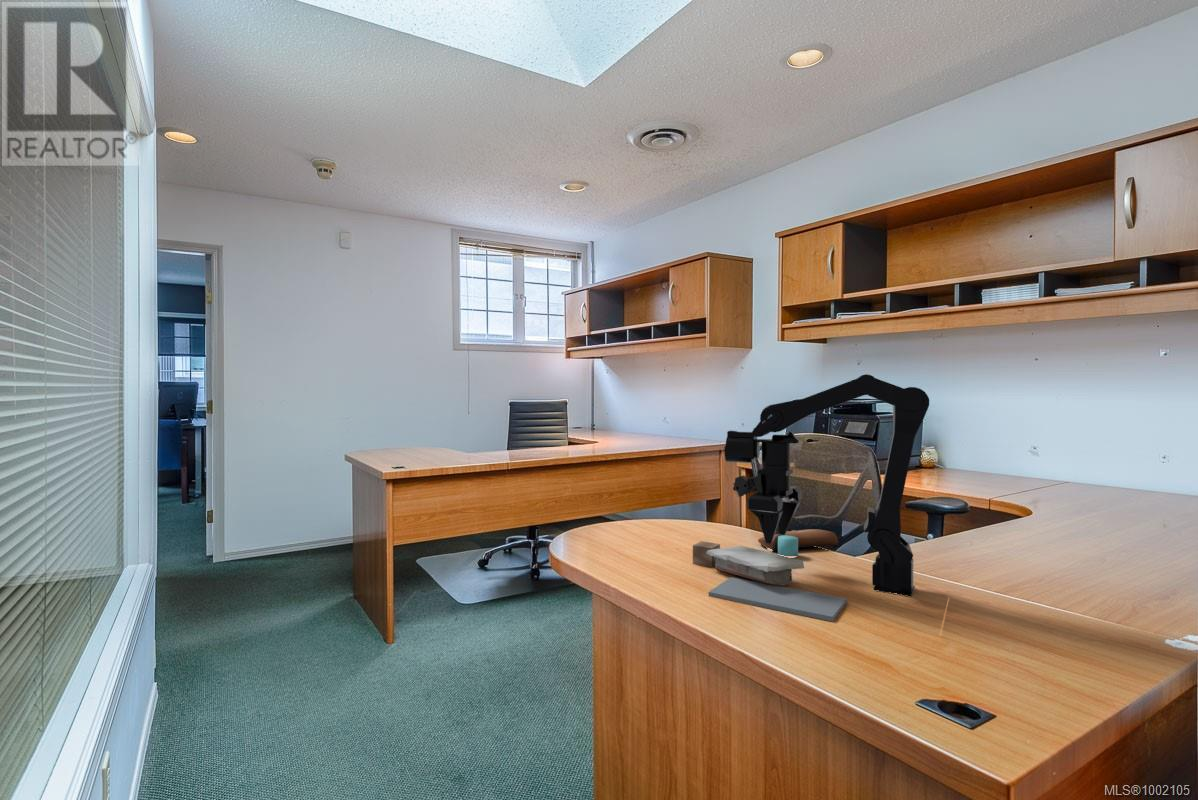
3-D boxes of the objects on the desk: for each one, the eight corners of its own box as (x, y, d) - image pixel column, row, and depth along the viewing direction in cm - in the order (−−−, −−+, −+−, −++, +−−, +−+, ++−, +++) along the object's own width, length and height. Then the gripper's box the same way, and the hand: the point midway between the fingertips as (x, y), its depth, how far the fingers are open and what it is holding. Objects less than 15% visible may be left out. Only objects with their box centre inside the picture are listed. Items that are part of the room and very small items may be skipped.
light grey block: (741, 566, 131) (706, 571, 126) (741, 544, 131) (705, 548, 126) (805, 585, 115) (767, 591, 110) (805, 559, 115) (767, 565, 110)
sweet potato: (816, 535, 153) (826, 518, 149) (830, 557, 147) (841, 540, 143) (755, 539, 147) (764, 522, 144) (767, 562, 142) (777, 545, 138)
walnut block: (719, 564, 131) (719, 544, 131) (711, 568, 128) (711, 548, 128) (701, 561, 134) (701, 541, 134) (692, 565, 130) (692, 545, 130)
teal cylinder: (800, 556, 138) (800, 537, 138) (795, 560, 134) (795, 541, 134) (780, 553, 141) (781, 534, 141) (775, 557, 137) (775, 538, 137)
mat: (846, 602, 106) (846, 598, 106) (832, 621, 97) (832, 616, 97) (730, 581, 119) (730, 577, 119) (708, 596, 110) (708, 591, 110)
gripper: (753, 458, 135) (753, 526, 135) (722, 465, 120) (722, 542, 120) (802, 461, 129) (802, 532, 129) (776, 469, 114) (776, 550, 114)
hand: (775, 538), depth 123 cm, fingers open, 9 cm apart
